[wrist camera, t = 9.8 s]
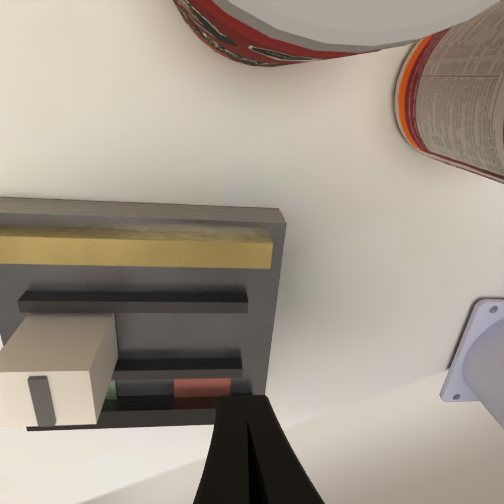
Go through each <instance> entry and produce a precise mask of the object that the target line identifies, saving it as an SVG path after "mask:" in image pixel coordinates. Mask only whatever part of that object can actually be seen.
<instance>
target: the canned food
mask: <svg viewBox="0 0 504 504" xmlns="http://www.w3.org/2000/svg"><path fill="white" fill-rule="evenodd" d="M173 1H174V3H175V5H176V6H177V8H178V10H179V12H180V13H181V15H182V17H183V19H184V20H185V22H186V23H187V24H188V25H189V26H190V28H191V29H192V30H193V31H194V32H195V34H196V35H197V36H198V37H199V38H200V39H201V40H202V41H204V42H205V43H206V44H207V45H208V46H210V47H211V48H212V49H213V50H215V51H216V52H218V53H220V54H222V55H224V56H226V57H228V58H229V59H231V60H233V61H237V62H240V63H244V64H248V65H251V66H266V67H274V66H281V65H288V64H296V63H303V62H310V61H317V60H325V59H332V58H339V57H345V56H351V55H357V54H363V53H369V52H375V51H379V50H382V49H386V48H392V47H398V46H404V45H407V44H409V43H412V42H414V41H417V40H420V39H422V38H425V37H427V36H430V35H433V34H435V33H438V32H440V31H443V30H446V29H448V28H450V27H452V26H454V25H457V24H459V23H462V22H464V21H467V20H469V19H471V18H473V17H474V16H476V15H478V14H479V13H481V12H482V11H484V10H486V9H487V8H489V7H491V6H492V5H494V4H496V3H497V2H499V1H500V0H173Z"/></svg>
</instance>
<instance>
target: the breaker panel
mask: <svg viewBox="0 0 504 504" xmlns="http://www.w3.org/2000/svg"><path fill="white" fill-rule="evenodd" d="M285 229H286V222H285V220H284V218H283V216H282V214H281V212H280V211H279V209H273V208H249V207H225V206H201V205H177V204H153V203H129V202H105V201H80V200H56V199H32V198H8V197H0V334H1V338H2V342H3V346H4V345H5V344H6V343H7V341H8V340H9V339H10V338H11V336H12V335H13V334H14V332H15V331H16V330H17V328H18V327H19V326H20V324H21V323H22V322H23V320H24V319H25V318H26V316H27V315H28V314H29V313H114V316H115V327H116V337H117V348H118V359H117V362H116V365H115V368H114V371H113V375H112V378H111V381H110V384H109V387H108V390H107V393H106V396H105V399H104V403H103V406H102V409H101V412H100V415H99V418H98V421H97V424H85V425H56V426H46V427H38V426H27V427H26V428H27V431H48V430H75V429H103V428H130V427H158V426H185V425H213V424H215V415H216V399H217V398H219V397H220V396H237V395H265V388H266V380H267V372H268V364H269V356H270V348H271V340H272V332H273V325H274V317H275V309H276V301H277V293H278V285H279V277H280V269H281V261H282V253H283V245H284V237H285Z"/></svg>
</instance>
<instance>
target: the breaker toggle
mask: <svg viewBox="0 0 504 504" xmlns="http://www.w3.org/2000/svg"><path fill="white" fill-rule="evenodd" d="M117 359H118V348H117V337H116V327H115V316H114V313H29V314H28V315H27V316H26V318H25V319H24V320H23V322H22V323H21V324H20V326H19V327H18V328H17V330H16V331H15V332H14V334H13V335H12V336H11V338H10V339H9V340H8V341H7V343H6V344H5V345H4V347H3V348H2V349H1V351H0V427H27V426H38V427H46V426H56V425H85V424H97V421H98V418H99V415H100V412H101V409H102V406H103V403H104V399H105V396H106V393H107V390H108V387H109V384H110V381H111V378H112V375H113V371H114V368H115V365H116V362H117Z"/></svg>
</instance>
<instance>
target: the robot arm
mask: <svg viewBox="0 0 504 504" xmlns="http://www.w3.org/2000/svg"><path fill="white" fill-rule="evenodd" d="M491 307H492V308H491ZM490 308H491V309H490ZM440 397H441V398H442V400H443V401H445V402H462V401H481V403H482V404H483V405H484V406H485V407H486V409H487V410H488V411H489V412H490V413H491V415H492V416H493V417H494V418H495V419H496V421H497V422H498V423H499V424H500V425H501V426H502V427H503V429H504V299H484V300H480V301H478V302H477V303H476V304H475V306H474V309H473V311H472V314H471V316H470V319H469V321H468V324H467V326H466V329H465V331H464V334H463V336H462V339H461V341H460V344H459V346H458V349H457V352H456V354H455V357H454V359H453V362H452V364H451V367H450V369H449V372H448V375H447V377H446V379H445V382H444V384H443V387H442V389H441V392H440ZM193 504H325V503H324V502H323V500H322V498H321V497H320V495H319V494H318V492H317V491H316V489H315V487H314V486H313V484H312V482H311V481H310V479H309V477H308V476H307V474H306V473H305V471H304V469H303V467H302V465H301V464H300V462H299V461H298V459H297V457H296V455H295V454H294V451H293V449H292V448H291V446H290V444H289V442H288V440H287V438H286V436H285V434H284V432H283V430H282V428H281V426H280V424H279V422H278V420H277V418H276V416H275V413H274V411H273V409H272V406H271V404H270V402H269V399H268V397H267V396H265V395H237V396H220V397H219V398H217V399H216V415H215V424H214V430H213V435H212V439H211V444H210V448H209V452H208V456H207V459H206V463H205V467H204V471H203V474H202V478H201V481H200V484H199V487H198V490H197V493H196V496H195V499H194V502H193Z"/></svg>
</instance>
